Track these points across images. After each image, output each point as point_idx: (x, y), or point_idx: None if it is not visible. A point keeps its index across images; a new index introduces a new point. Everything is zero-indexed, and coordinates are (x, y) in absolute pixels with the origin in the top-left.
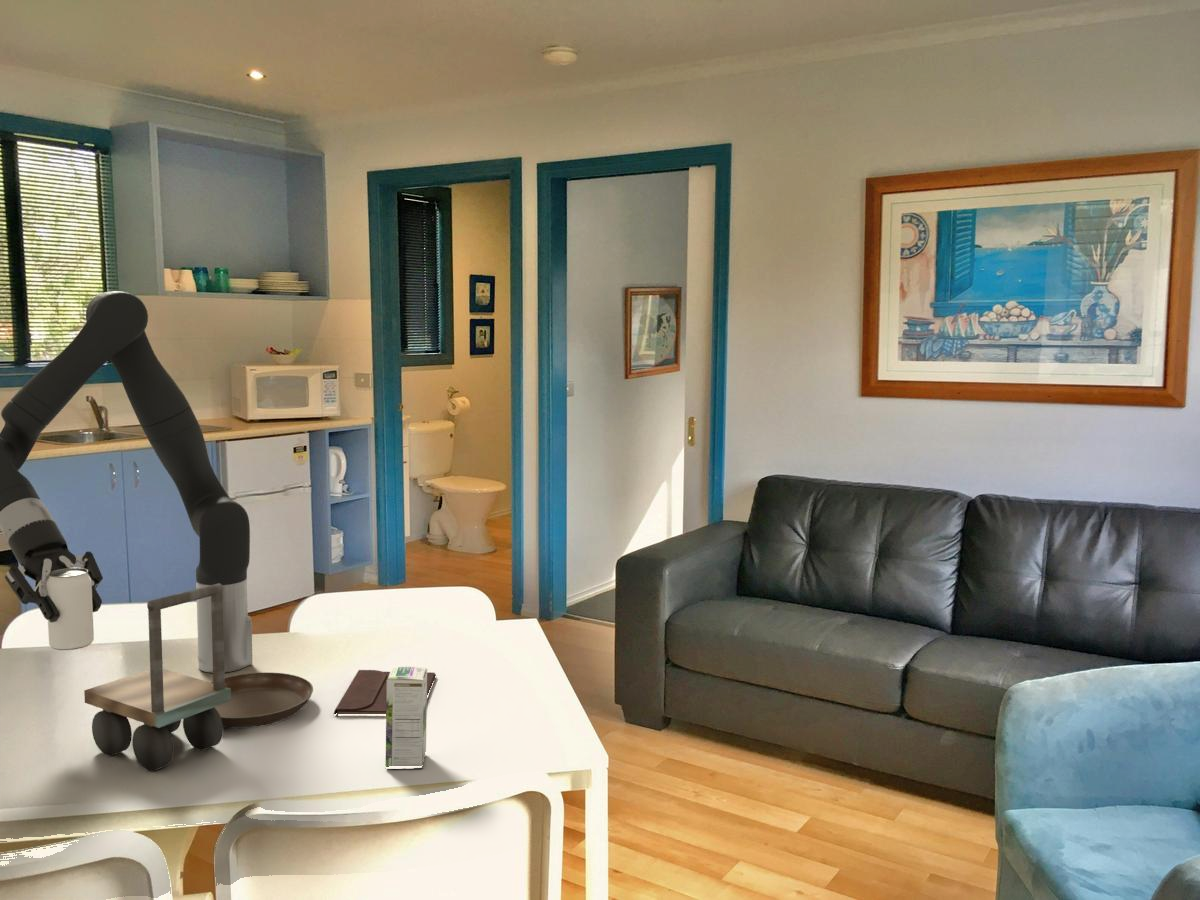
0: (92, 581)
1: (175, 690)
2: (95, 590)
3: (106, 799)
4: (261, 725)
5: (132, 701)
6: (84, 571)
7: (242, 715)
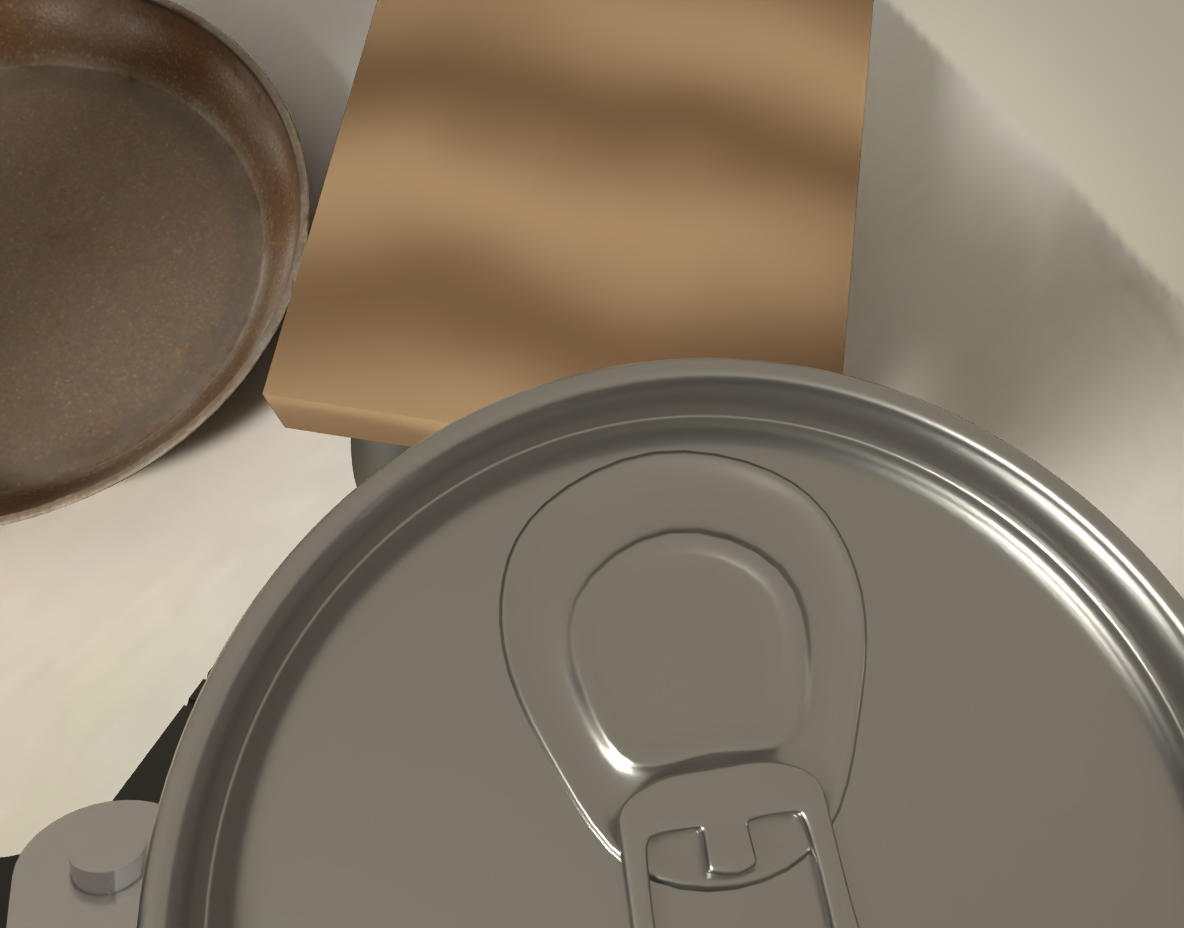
0: (38, 869)
1: (573, 30)
2: (148, 775)
3: (1025, 176)
4: (204, 109)
5: (816, 106)
6: (241, 761)
7: (126, 240)
